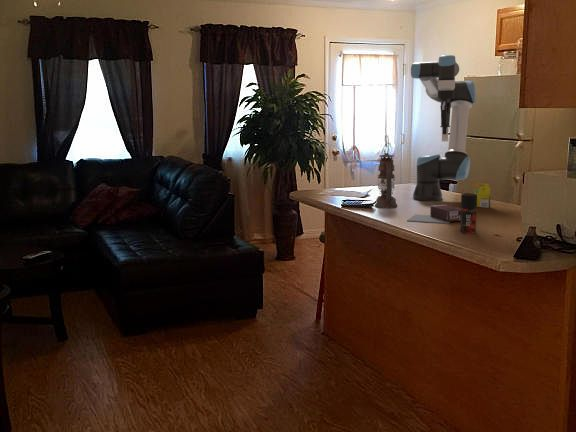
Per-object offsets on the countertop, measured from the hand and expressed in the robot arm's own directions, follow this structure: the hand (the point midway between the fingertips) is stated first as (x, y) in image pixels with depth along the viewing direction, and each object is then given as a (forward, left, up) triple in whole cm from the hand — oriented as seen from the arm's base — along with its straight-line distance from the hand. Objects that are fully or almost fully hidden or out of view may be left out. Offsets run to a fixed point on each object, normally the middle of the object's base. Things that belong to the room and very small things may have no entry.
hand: (444, 141), depth 292 cm
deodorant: (+48, +19, -33) cm, 61 cm away
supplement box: (+18, +1, -30) cm, 35 cm away
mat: (+27, 0, -32) cm, 42 cm away
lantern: (0, -28, -33) cm, 43 cm away
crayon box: (-13, +16, -33) cm, 39 cm away
